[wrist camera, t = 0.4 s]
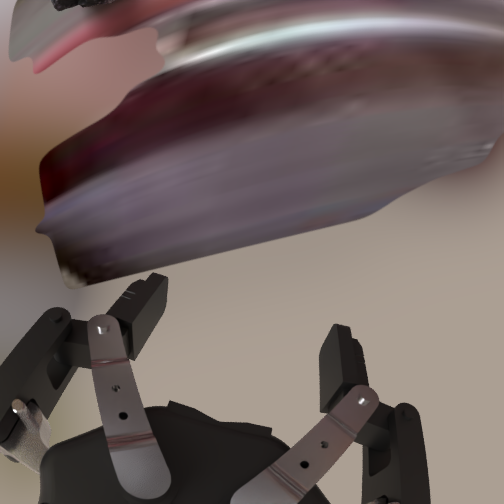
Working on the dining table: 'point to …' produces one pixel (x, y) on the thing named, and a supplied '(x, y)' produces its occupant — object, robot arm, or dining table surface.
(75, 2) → the crystal cluster
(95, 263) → the dining table surface
